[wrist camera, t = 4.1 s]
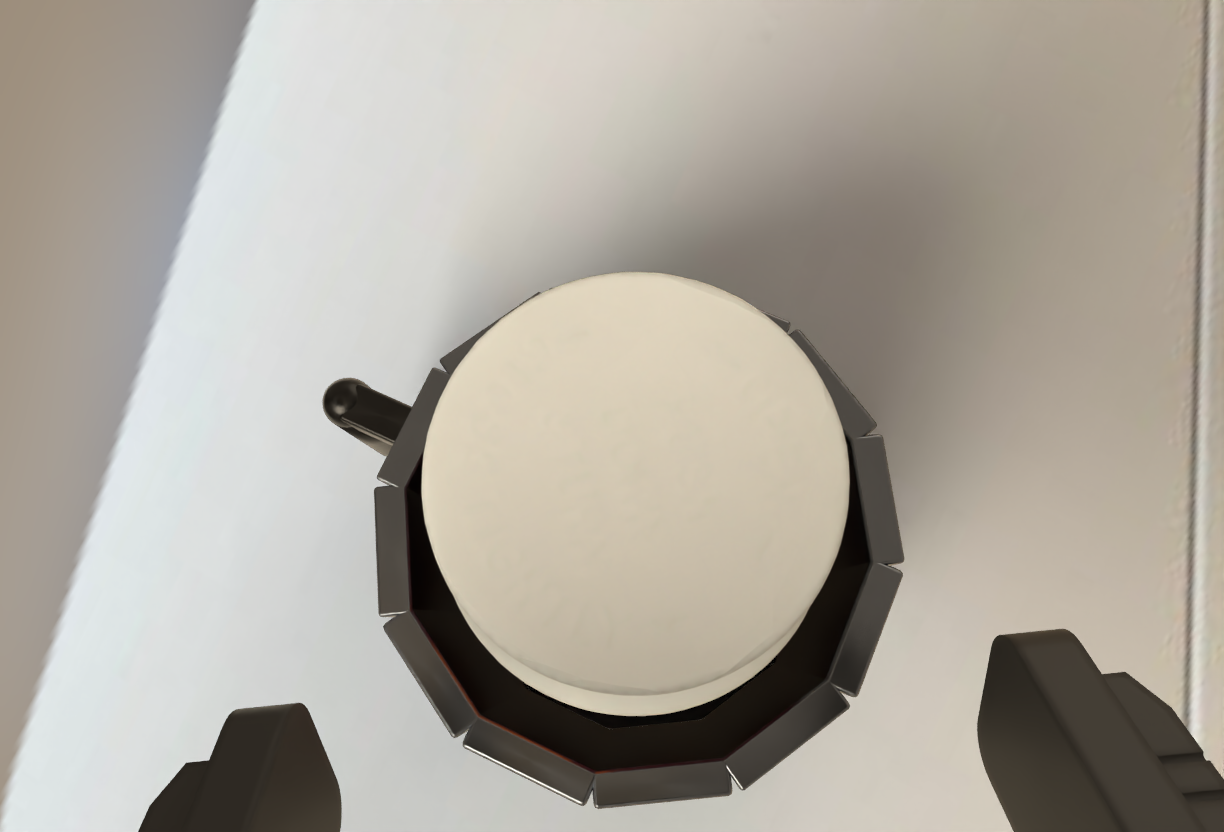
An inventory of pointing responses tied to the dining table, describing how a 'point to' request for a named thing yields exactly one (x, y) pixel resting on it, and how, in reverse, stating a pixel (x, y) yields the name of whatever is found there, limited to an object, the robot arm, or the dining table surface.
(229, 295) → the dining table surface
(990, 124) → the dining table surface
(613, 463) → the pill bottle
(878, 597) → the faceted grey mug
